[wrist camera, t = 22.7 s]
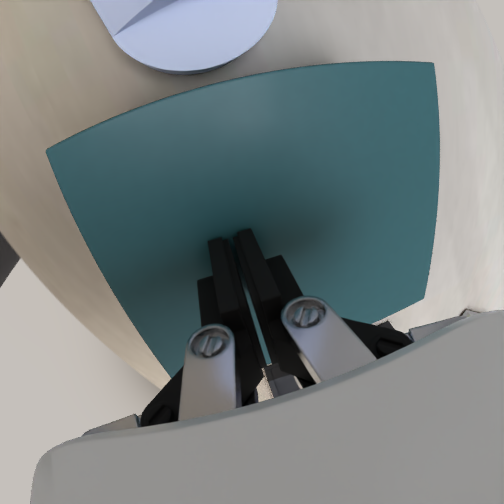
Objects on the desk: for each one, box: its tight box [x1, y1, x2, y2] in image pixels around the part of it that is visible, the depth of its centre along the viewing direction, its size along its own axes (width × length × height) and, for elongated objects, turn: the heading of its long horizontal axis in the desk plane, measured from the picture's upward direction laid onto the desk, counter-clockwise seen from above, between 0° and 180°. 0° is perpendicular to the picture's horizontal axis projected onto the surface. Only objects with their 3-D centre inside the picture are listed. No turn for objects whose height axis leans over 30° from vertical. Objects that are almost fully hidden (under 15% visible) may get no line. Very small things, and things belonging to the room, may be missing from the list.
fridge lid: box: [46, 61, 440, 378], centre depth 12 cm, size 15×13×1 cm
